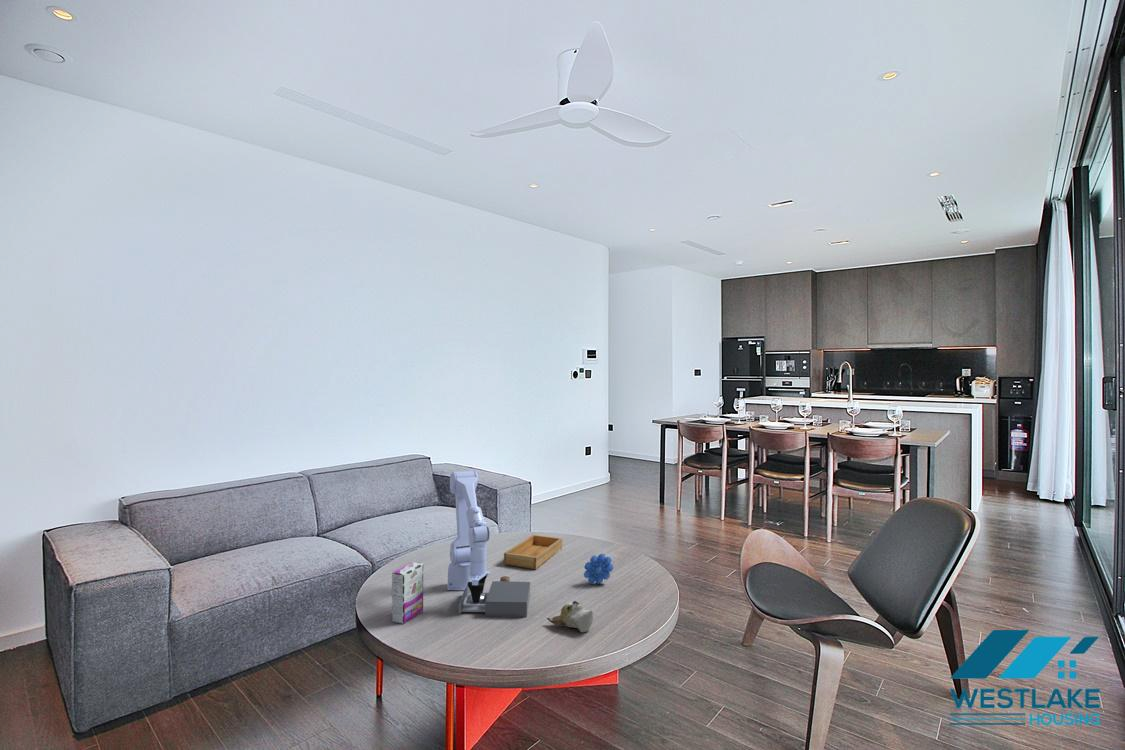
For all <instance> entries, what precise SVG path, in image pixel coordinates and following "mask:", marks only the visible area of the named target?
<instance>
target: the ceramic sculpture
mask: <svg viewBox="0 0 1125 750" xmlns="http://www.w3.org/2000/svg"><path fill="white" fill-rule="evenodd" d="M546 619H547V620H548V622H550V623H551V624H553V625H554V626H558V627H559V626H560V627H562V626H565V627H568V628H572V629H573V628H575V629H577V630H579V632H581V633H587V632H589V630H590V628H591V627H592V624H593V622H594V612H593V610H592V609H590V610H589V609H588V610H587V609H584V607H582V604H581V603H580V602H578V601H576V600H574V601H573V602H569V603H566V604H564V605H563V606H562V608H561V609H560V615H558V616H557V615H555V616H552V617H547V618H546Z"/></svg>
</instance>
